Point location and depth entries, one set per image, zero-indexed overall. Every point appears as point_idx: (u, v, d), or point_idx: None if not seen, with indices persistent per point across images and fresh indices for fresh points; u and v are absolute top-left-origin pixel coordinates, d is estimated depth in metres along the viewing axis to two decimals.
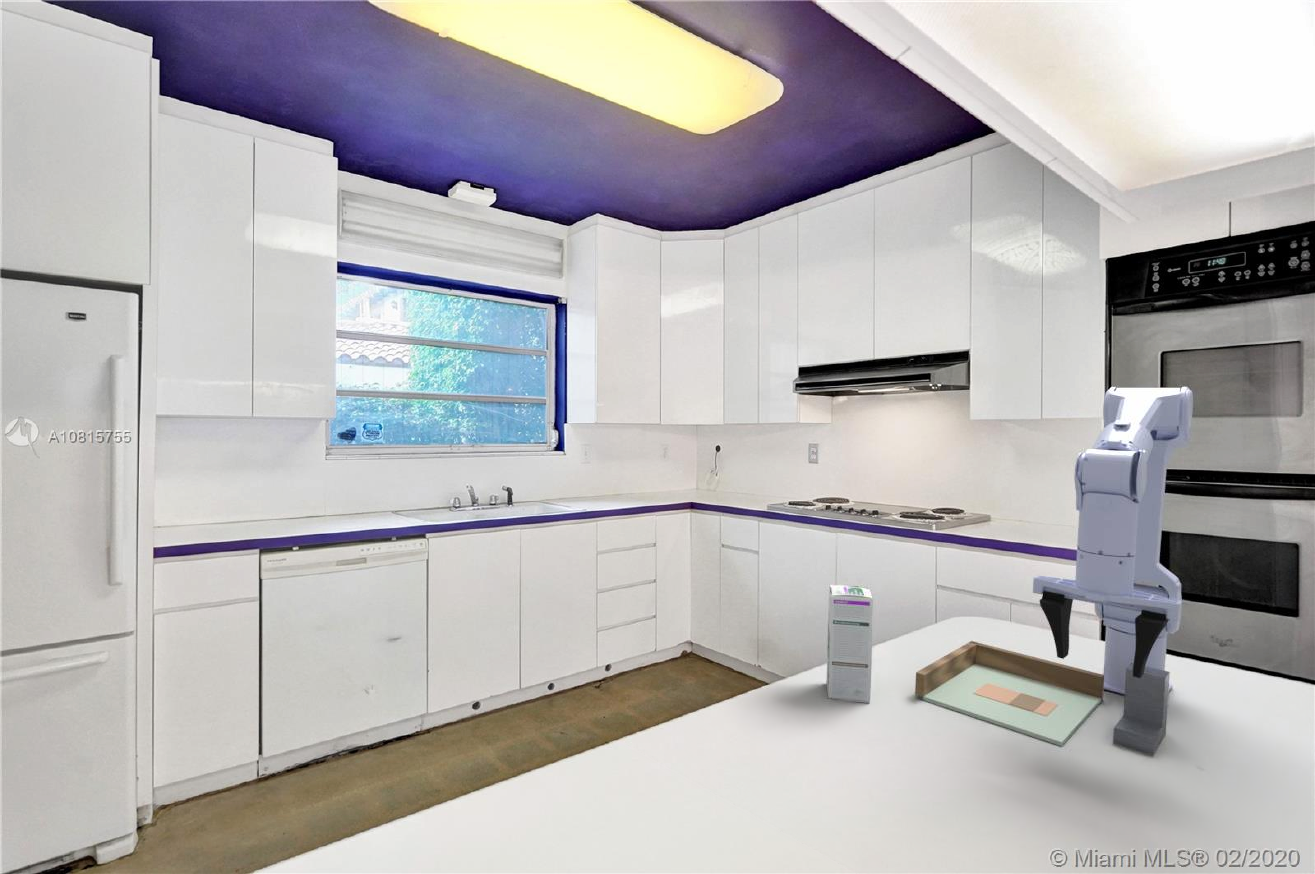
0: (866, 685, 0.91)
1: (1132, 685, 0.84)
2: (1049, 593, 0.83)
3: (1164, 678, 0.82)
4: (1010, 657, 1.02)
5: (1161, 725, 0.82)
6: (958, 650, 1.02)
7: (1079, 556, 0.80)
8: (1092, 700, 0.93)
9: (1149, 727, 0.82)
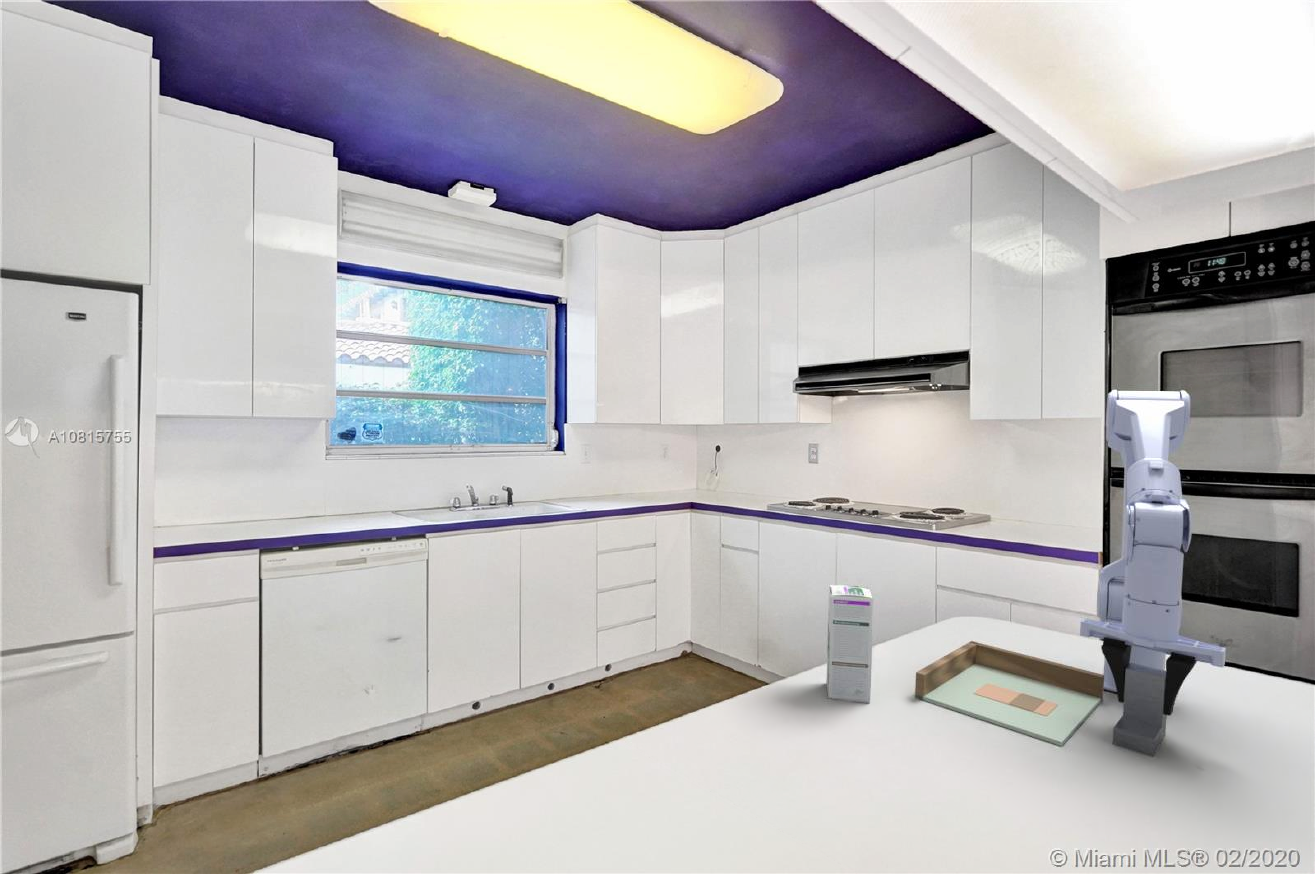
0: (866, 685, 0.91)
1: (1132, 685, 0.84)
2: (1110, 639, 0.86)
3: (1164, 678, 0.82)
4: (1010, 657, 1.02)
5: (1161, 725, 0.82)
6: (958, 650, 1.02)
7: (1126, 603, 0.84)
8: (1092, 700, 0.93)
9: (1149, 727, 0.82)
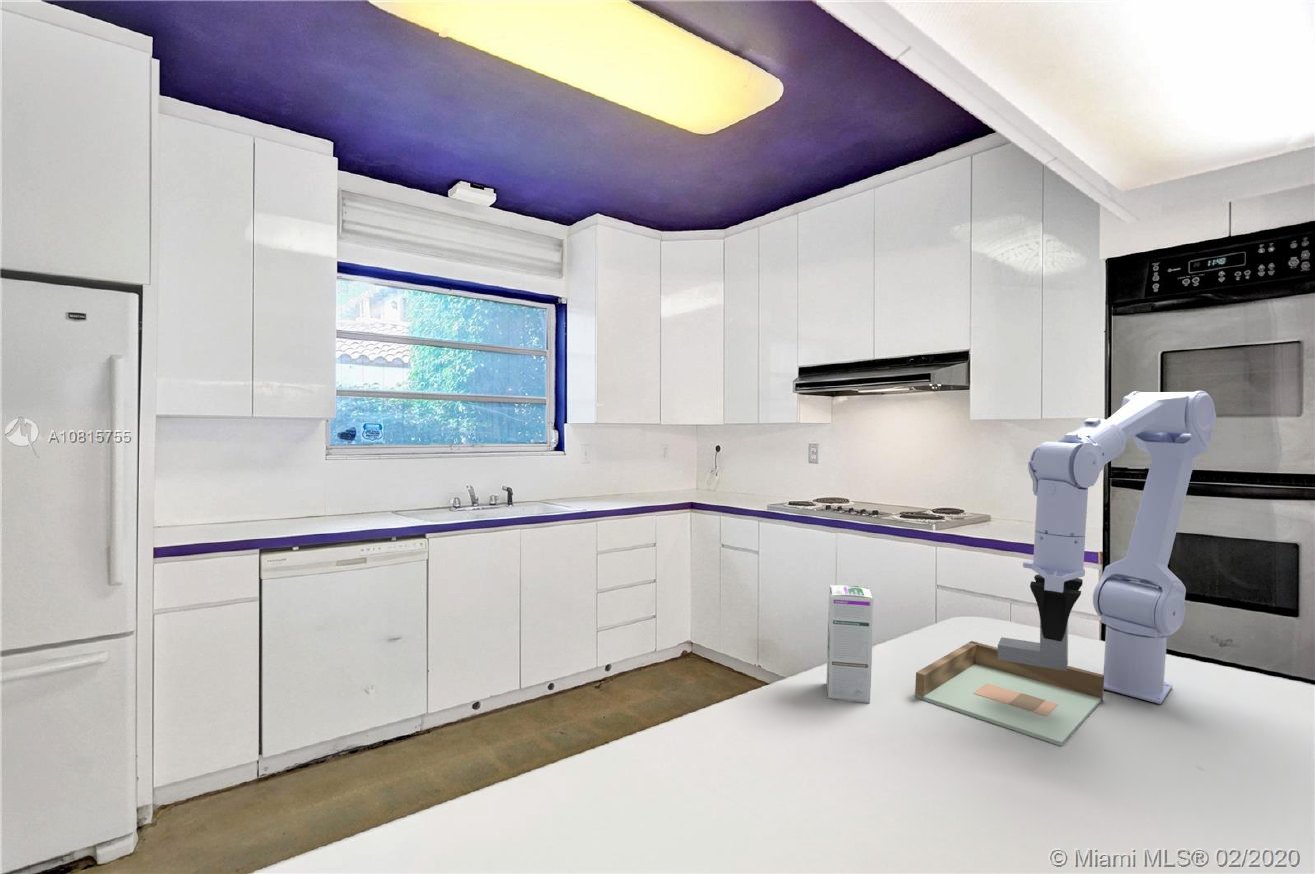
0: (866, 685, 0.91)
1: None
2: None
3: None
4: None
5: (1040, 650, 0.89)
6: (958, 650, 1.02)
7: None
8: (1092, 700, 0.93)
9: (1027, 647, 0.90)
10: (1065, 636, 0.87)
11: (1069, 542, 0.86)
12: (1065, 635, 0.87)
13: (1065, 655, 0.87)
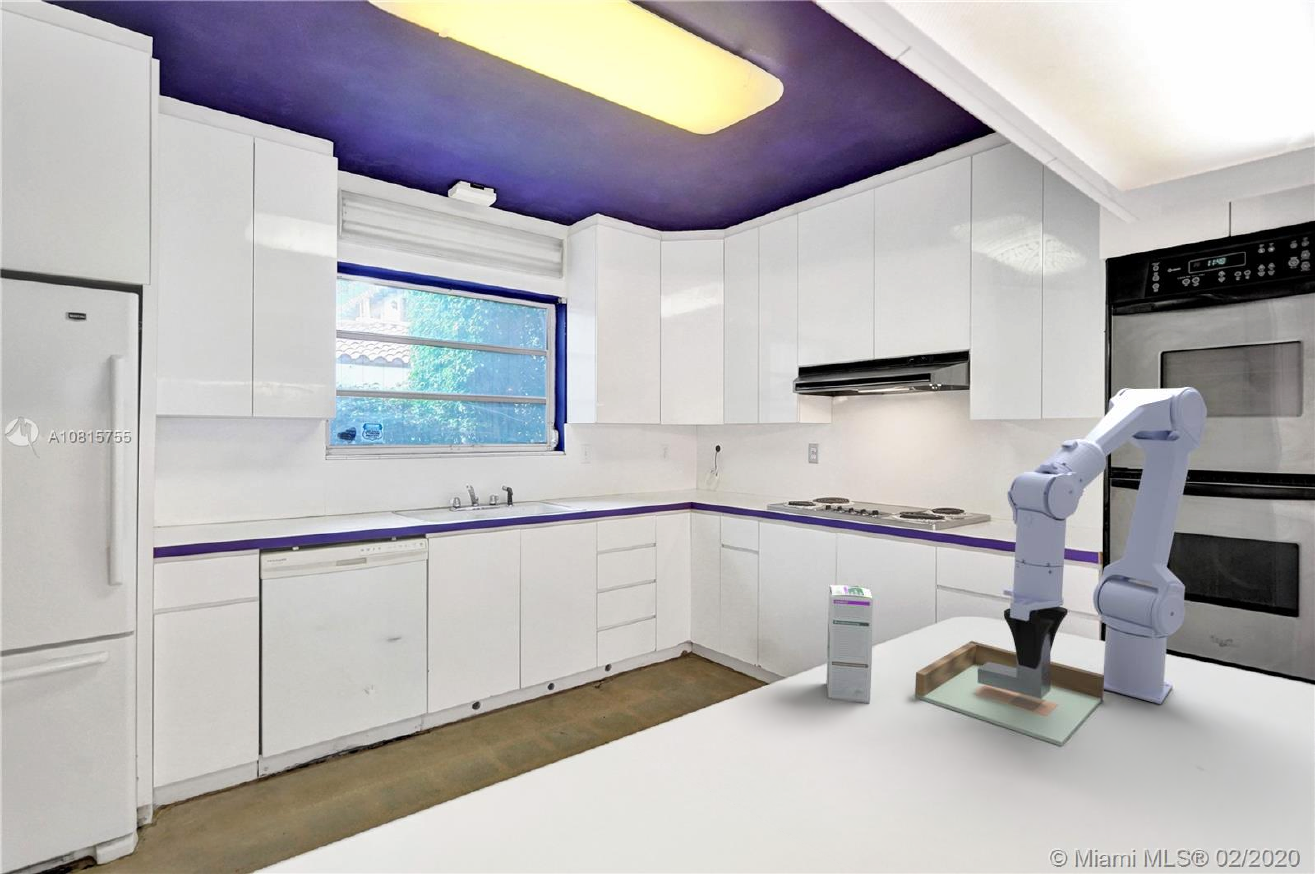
0: (866, 685, 0.91)
1: None
2: None
3: None
4: (1010, 657, 1.02)
5: (1016, 676, 0.90)
6: (958, 650, 1.02)
7: None
8: (1092, 700, 0.93)
9: (1006, 672, 0.92)
10: (1040, 664, 0.88)
11: (1042, 572, 0.88)
12: (1040, 663, 0.88)
13: (1040, 683, 0.88)
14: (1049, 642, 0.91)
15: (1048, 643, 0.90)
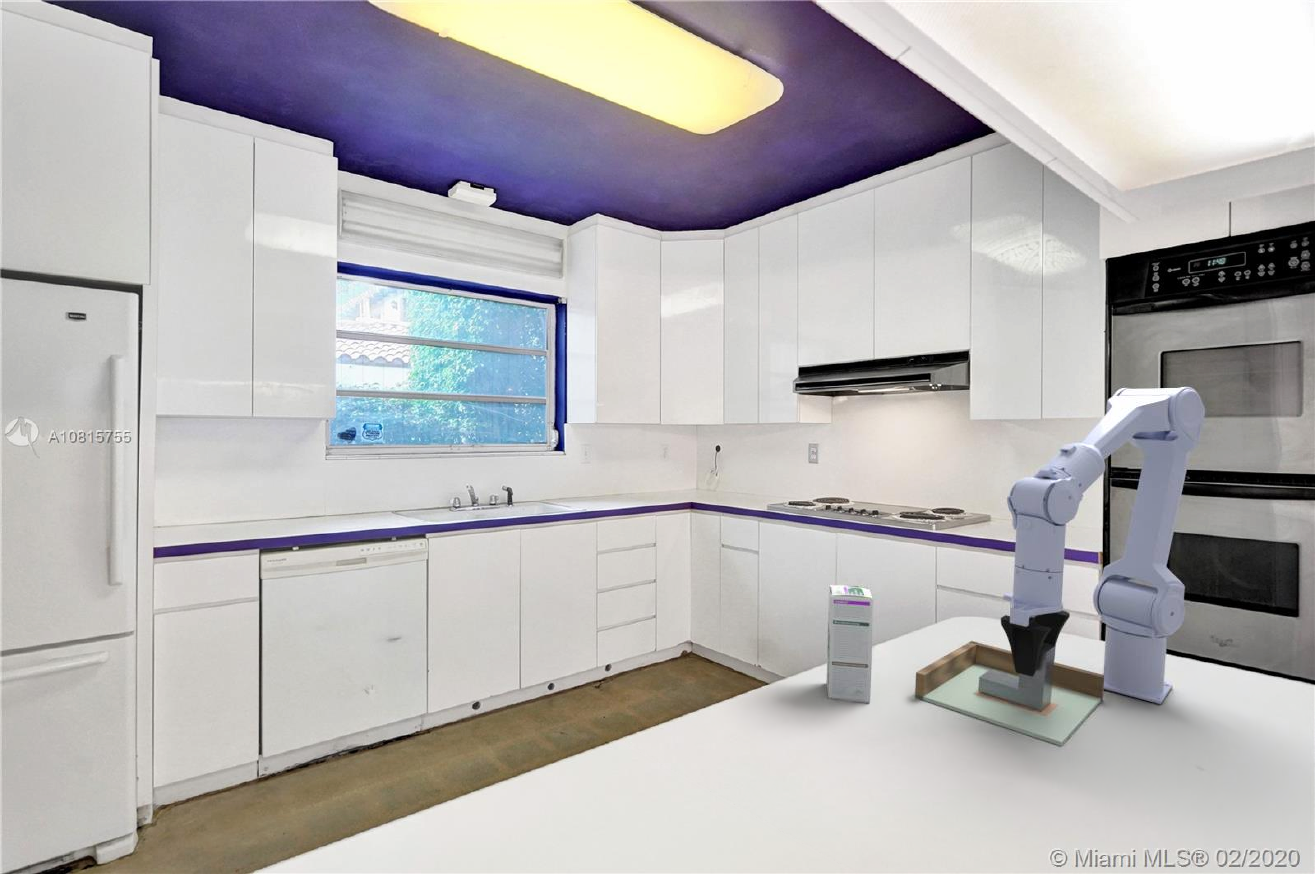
0: (866, 685, 0.91)
1: None
2: None
3: None
4: (1010, 657, 1.02)
5: (1018, 688, 0.90)
6: (958, 650, 1.02)
7: None
8: (1092, 700, 0.93)
9: (1008, 683, 0.92)
10: (1043, 678, 0.88)
11: (1042, 577, 0.88)
12: (1043, 677, 0.88)
13: (1041, 696, 0.88)
14: (1053, 655, 0.90)
15: (1052, 657, 0.90)
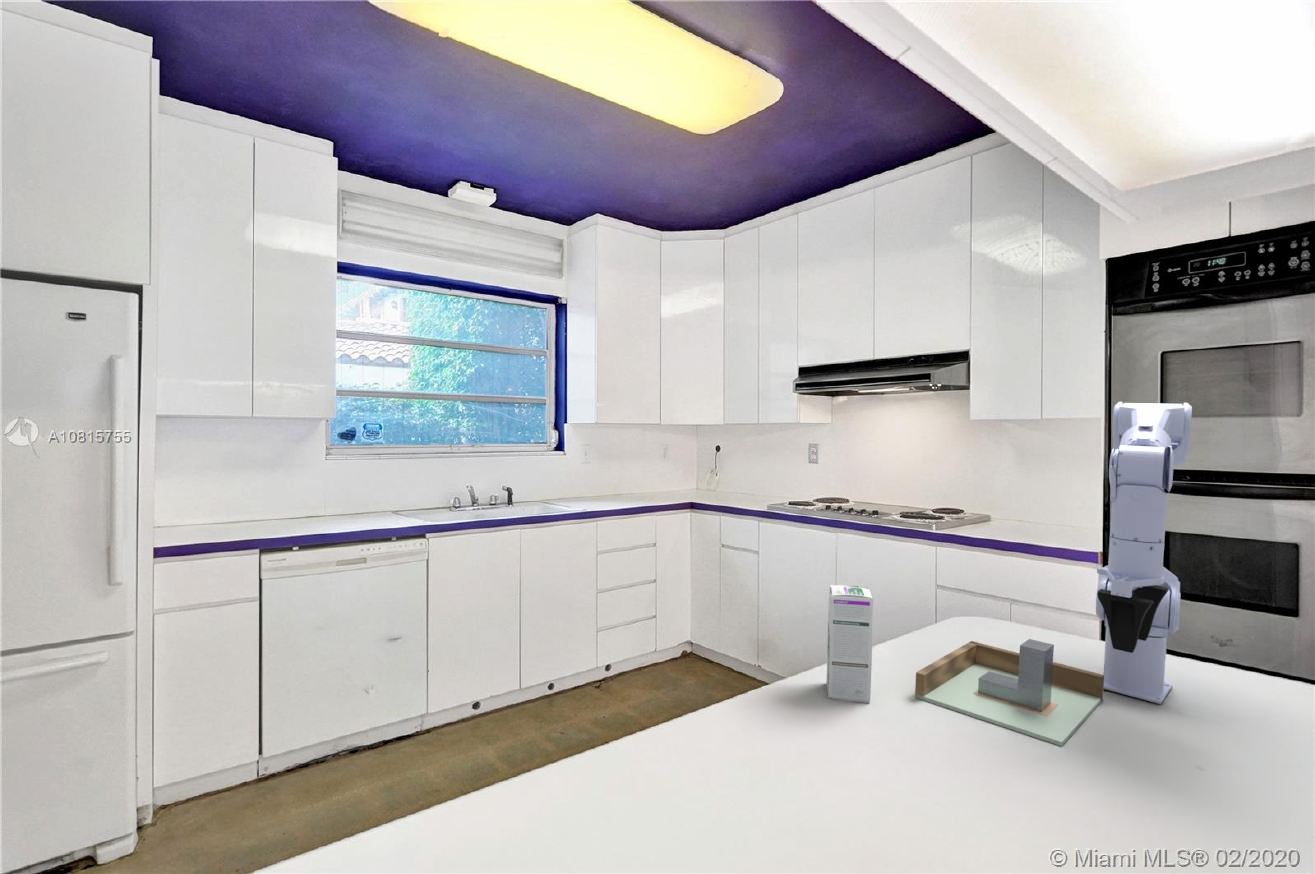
0: (866, 685, 0.91)
1: None
2: None
3: (1020, 646, 0.90)
4: (1010, 657, 1.02)
5: (1017, 688, 0.90)
6: (958, 650, 1.02)
7: None
8: (1092, 700, 0.93)
9: (1007, 683, 0.92)
10: (1042, 677, 0.88)
11: (1143, 548, 0.84)
12: (1042, 676, 0.88)
13: (1041, 696, 0.88)
14: (1052, 655, 0.90)
15: (1051, 657, 0.90)
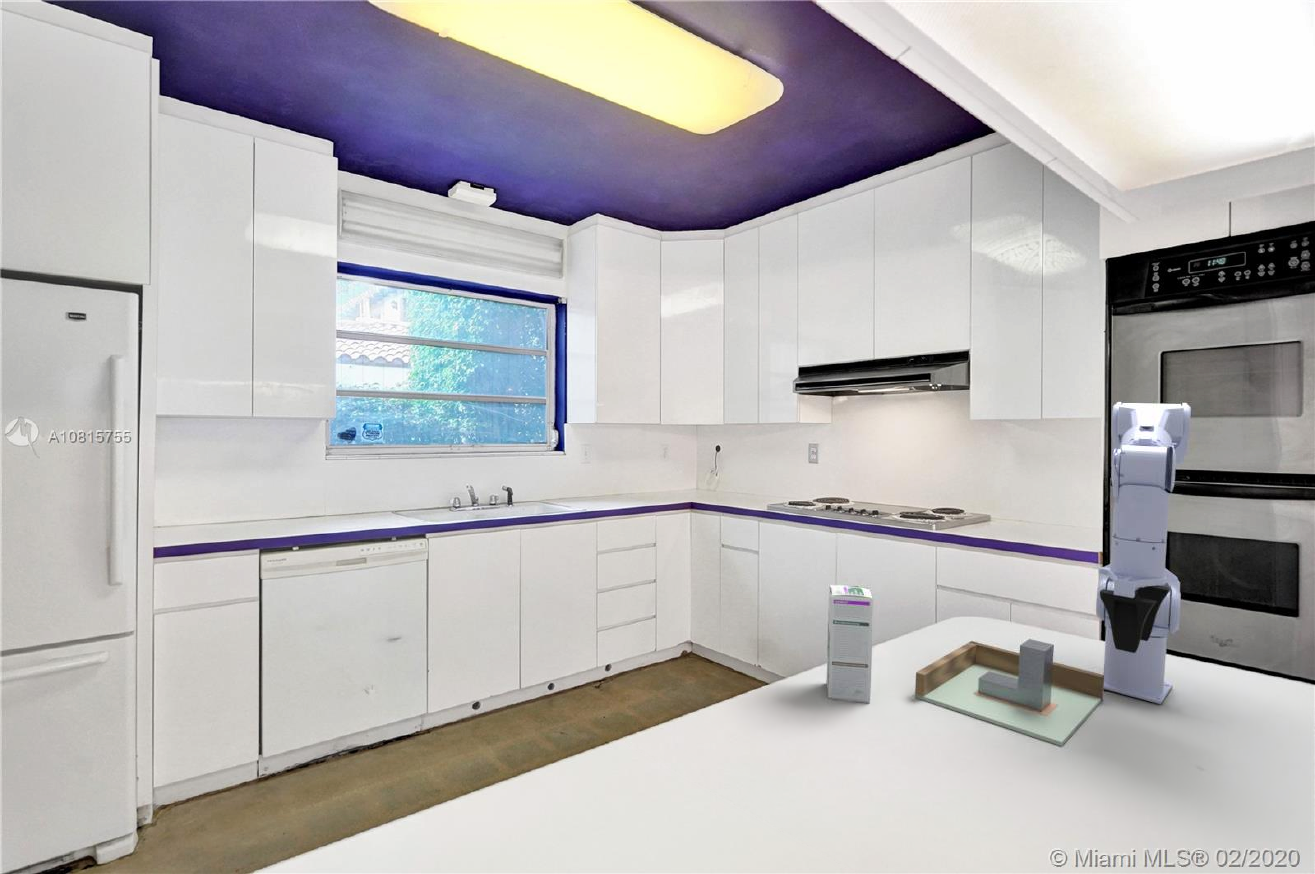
0: (866, 685, 0.91)
1: None
2: None
3: (1020, 646, 0.90)
4: (1010, 657, 1.02)
5: (1017, 688, 0.90)
6: (958, 650, 1.02)
7: None
8: (1092, 700, 0.93)
9: (1007, 683, 0.92)
10: (1042, 677, 0.88)
11: (1146, 548, 0.84)
12: (1042, 676, 0.88)
13: (1041, 696, 0.88)
14: (1052, 655, 0.90)
15: (1051, 657, 0.90)
